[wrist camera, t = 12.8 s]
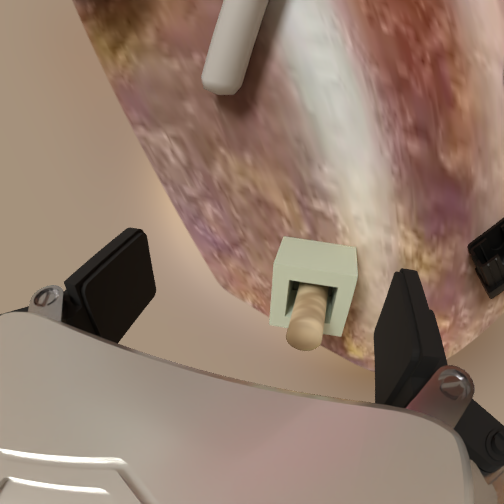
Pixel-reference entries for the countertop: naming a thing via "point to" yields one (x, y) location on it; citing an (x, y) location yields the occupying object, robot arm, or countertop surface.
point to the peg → (308, 317)
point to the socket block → (313, 279)
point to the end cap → (490, 258)
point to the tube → (232, 45)
